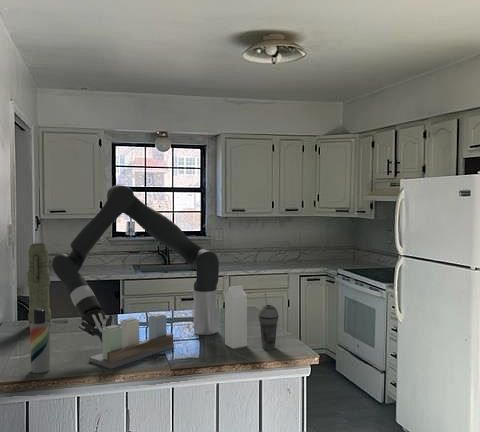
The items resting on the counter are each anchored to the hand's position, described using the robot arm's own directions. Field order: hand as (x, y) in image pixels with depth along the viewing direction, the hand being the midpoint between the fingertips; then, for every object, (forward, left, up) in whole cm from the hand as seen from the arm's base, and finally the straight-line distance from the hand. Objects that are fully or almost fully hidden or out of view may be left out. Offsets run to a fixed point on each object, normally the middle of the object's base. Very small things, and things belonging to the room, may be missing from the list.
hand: (107, 343), depth 170 cm
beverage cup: (-56, +7, -6) cm, 57 cm away
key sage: (-1, +2, -4) cm, 5 cm away
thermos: (+21, -56, -6) cm, 60 cm away
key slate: (-19, -8, -4) cm, 21 cm away
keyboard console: (-9, -4, -6) cm, 12 cm away
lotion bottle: (+21, +1, -6) cm, 22 cm away
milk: (-46, 0, -6) cm, 46 cm away
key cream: (-8, -6, -4) cm, 11 cm away
